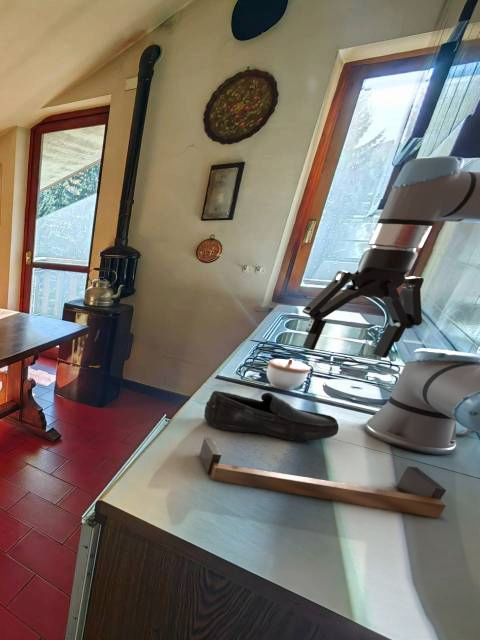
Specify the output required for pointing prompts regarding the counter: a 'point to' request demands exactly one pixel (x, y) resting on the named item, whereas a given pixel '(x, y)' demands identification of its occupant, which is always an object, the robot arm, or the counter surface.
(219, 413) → the loafer
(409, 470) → the wooden plank on wedges
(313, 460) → the counter surface
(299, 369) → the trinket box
